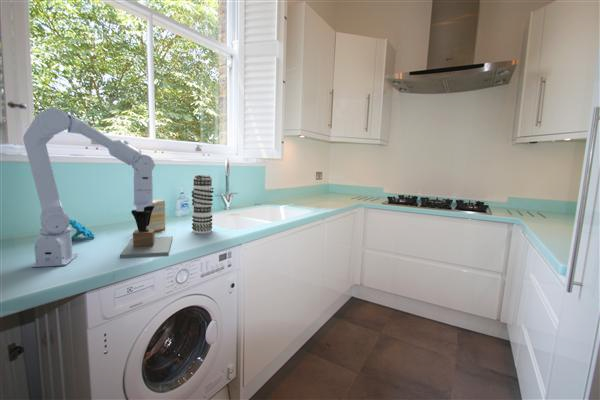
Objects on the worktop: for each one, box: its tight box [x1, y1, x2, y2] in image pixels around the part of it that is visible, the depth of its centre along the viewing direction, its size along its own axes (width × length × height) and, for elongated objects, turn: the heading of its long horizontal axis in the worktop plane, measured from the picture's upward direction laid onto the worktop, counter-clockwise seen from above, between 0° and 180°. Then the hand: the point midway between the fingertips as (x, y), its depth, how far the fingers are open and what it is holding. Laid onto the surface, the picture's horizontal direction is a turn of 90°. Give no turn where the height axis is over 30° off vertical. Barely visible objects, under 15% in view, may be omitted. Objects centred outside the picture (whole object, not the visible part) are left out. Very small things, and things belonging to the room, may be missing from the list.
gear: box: [69, 219, 95, 241], centre depth 108 cm, size 11×6×10 cm
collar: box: [132, 229, 155, 247], centre depth 102 cm, size 5×6×5 cm
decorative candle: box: [191, 174, 214, 234], centre depth 128 cm, size 9×9×25 cm
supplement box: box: [146, 199, 166, 232], centre depth 125 cm, size 8×5×13 cm, turn 149°
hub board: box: [119, 235, 173, 259], centre depth 103 cm, size 20×14×5 cm
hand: (143, 228), depth 102 cm, fingers open, 7 cm apart
